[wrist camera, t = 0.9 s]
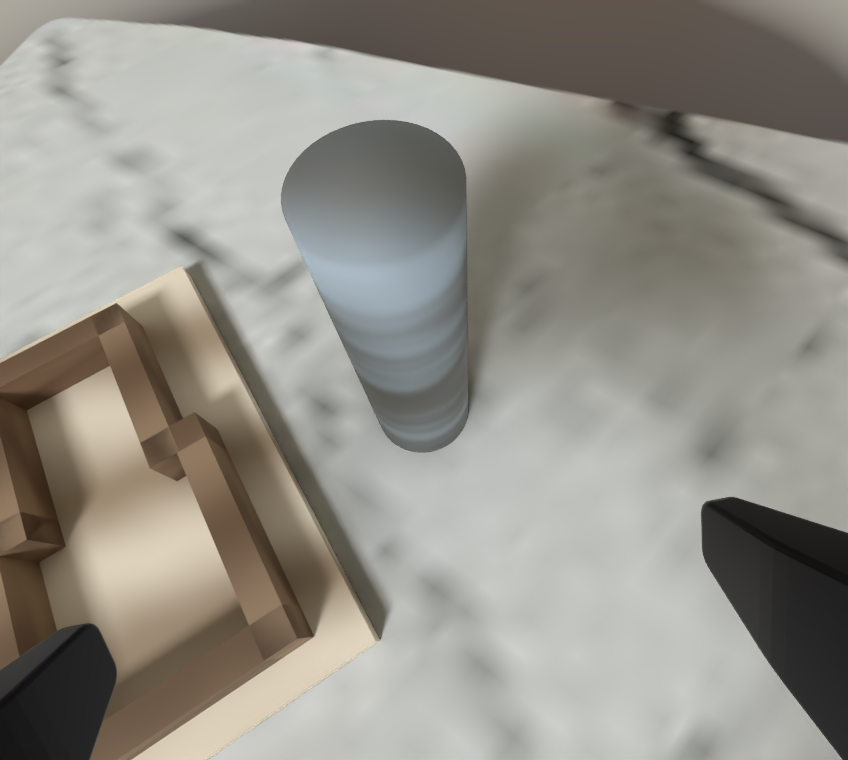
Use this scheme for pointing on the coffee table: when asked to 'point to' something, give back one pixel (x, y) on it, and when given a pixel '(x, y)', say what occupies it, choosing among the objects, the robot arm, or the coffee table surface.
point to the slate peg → (391, 268)
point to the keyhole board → (163, 527)
